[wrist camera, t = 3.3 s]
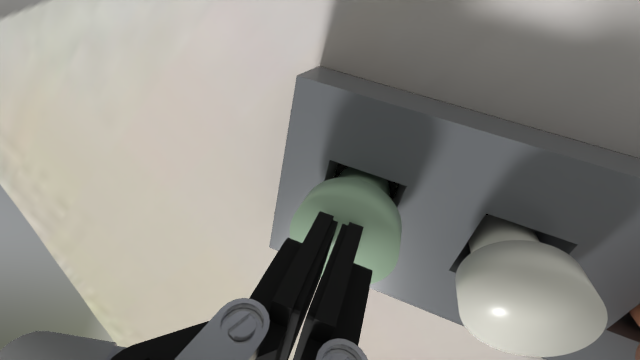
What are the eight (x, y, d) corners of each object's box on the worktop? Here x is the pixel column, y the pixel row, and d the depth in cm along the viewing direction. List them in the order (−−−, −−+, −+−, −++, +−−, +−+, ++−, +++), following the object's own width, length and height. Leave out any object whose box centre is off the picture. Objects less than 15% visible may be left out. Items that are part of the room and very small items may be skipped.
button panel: (860, 222, 11) (988, 281, 9) (649, 356, 16) (690, 418, 14) (319, 66, 14) (296, 75, 12) (289, 218, 20) (269, 247, 17)
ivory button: (578, 218, 13) (643, 303, 9) (521, 284, 15) (553, 372, 11) (475, 185, 13) (495, 250, 10) (436, 252, 16) (439, 325, 12)
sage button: (420, 167, 14) (417, 222, 10) (389, 235, 16) (377, 300, 12) (332, 138, 14) (299, 179, 11) (314, 207, 17) (282, 261, 13)
